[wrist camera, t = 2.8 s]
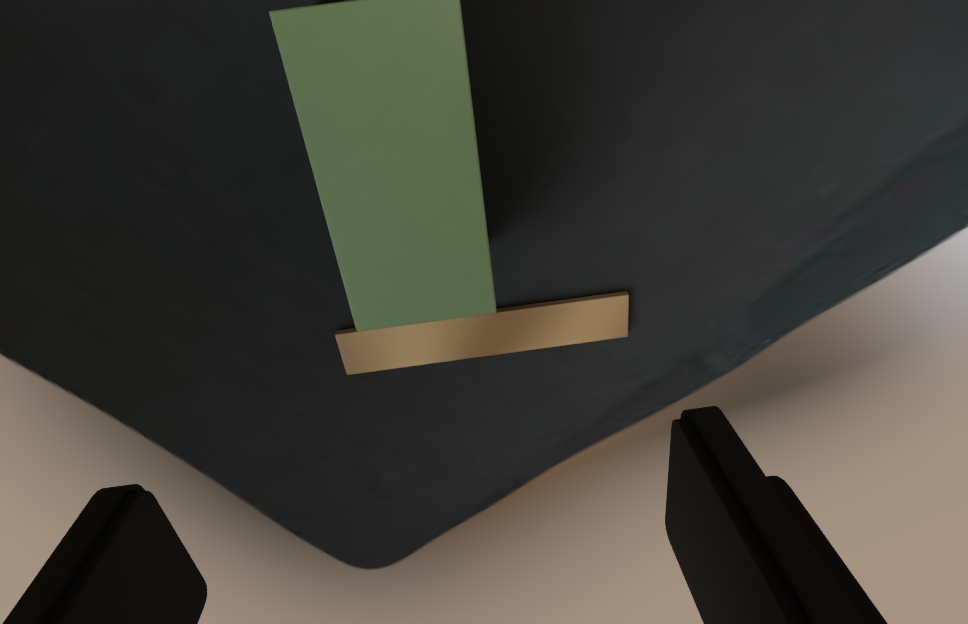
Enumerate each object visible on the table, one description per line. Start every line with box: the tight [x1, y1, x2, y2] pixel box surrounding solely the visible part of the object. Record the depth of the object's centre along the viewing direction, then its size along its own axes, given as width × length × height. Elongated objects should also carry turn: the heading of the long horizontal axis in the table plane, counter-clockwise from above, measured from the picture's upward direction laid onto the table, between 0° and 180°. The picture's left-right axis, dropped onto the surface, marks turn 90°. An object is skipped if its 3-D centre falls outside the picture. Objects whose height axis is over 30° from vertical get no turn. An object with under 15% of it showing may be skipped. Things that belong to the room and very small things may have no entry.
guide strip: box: [335, 291, 629, 375], centre depth 27 cm, size 14×2×1 cm, turn 97°
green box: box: [269, 0, 497, 331], centre depth 19 cm, size 5×10×6 cm, turn 6°
